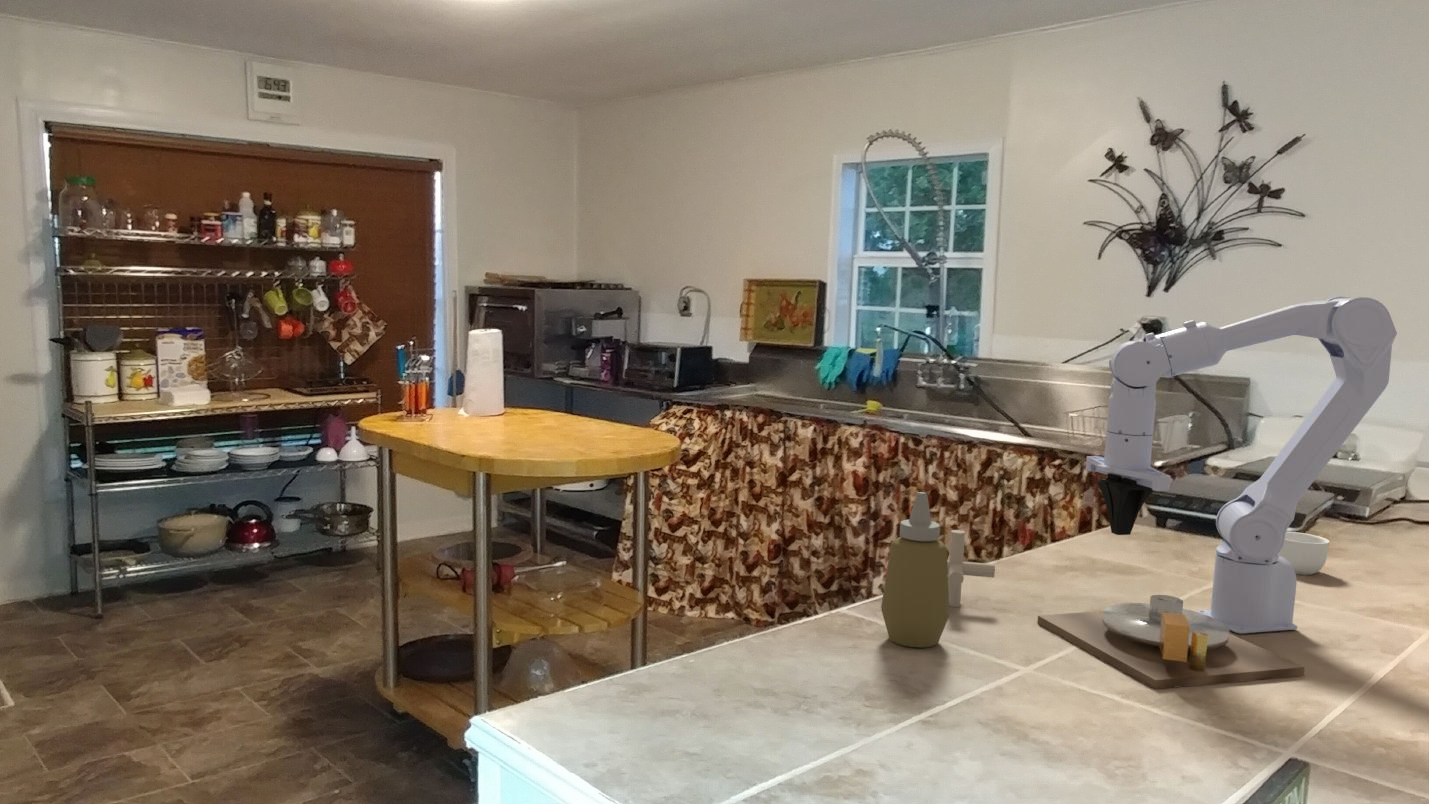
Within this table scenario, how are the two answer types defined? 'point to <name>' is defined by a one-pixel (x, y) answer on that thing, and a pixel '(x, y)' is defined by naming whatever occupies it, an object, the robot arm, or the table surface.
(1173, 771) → the table surface
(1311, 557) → the teacup
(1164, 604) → the disc with block handle
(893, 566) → the squeeze bottle
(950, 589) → the pipe connector
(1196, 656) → the dowel
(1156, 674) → the flat brown board
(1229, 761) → the table surface
